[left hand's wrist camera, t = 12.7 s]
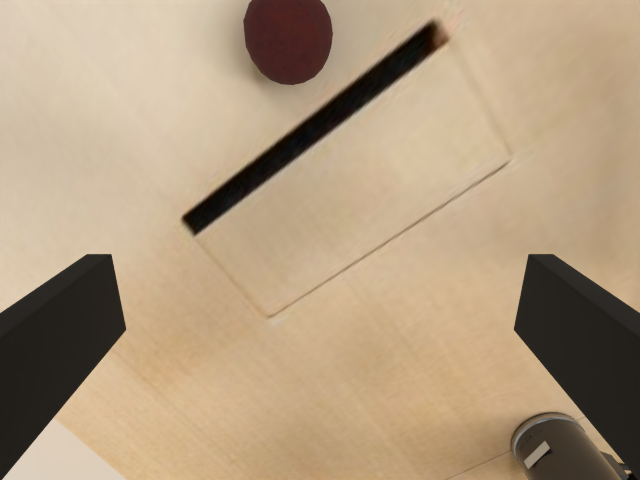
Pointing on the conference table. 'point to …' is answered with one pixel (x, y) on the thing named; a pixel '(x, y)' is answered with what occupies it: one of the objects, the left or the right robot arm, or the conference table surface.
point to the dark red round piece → (288, 38)
